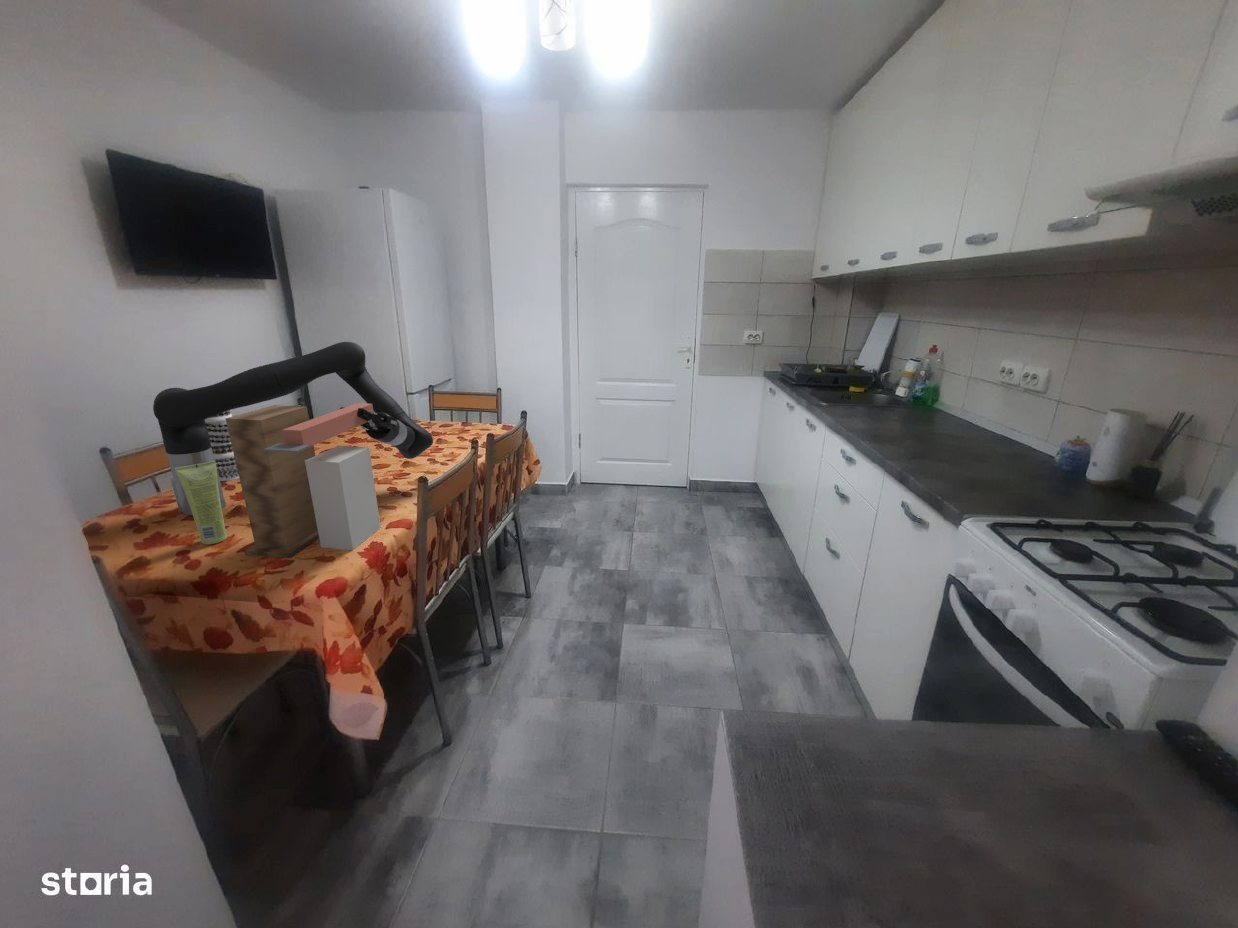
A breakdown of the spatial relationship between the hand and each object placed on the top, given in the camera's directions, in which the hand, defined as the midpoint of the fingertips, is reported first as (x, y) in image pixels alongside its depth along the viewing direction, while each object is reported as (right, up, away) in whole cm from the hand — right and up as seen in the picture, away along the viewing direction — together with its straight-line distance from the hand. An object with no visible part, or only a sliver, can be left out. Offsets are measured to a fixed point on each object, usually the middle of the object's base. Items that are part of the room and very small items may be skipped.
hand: (350, 411), depth 118 cm
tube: (-33, -32, 0) cm, 46 cm away
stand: (-15, -31, +2) cm, 35 cm away
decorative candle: (-61, -17, +40) cm, 75 cm away
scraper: (-1, -6, -7) cm, 9 cm away
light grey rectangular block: (-2, -31, +4) cm, 31 cm away
